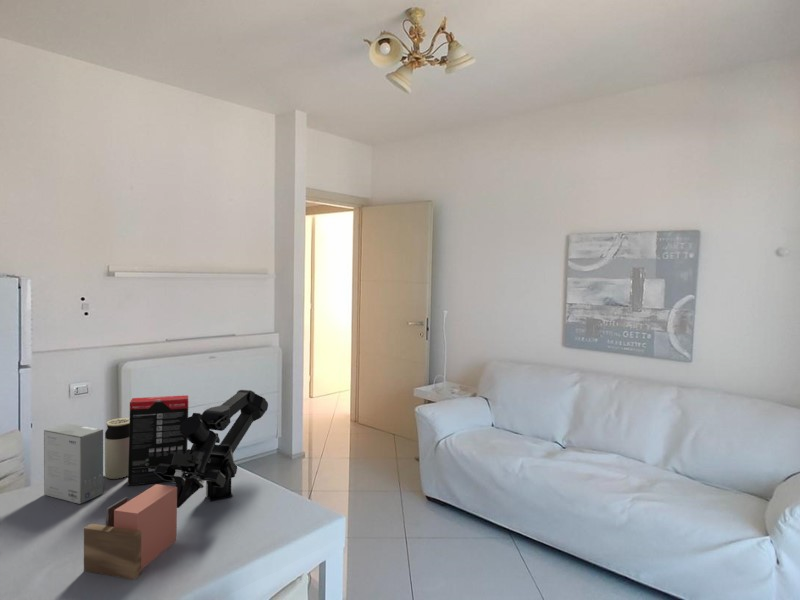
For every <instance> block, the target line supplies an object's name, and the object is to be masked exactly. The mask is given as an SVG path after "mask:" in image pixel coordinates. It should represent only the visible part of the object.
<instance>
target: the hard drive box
mask: <svg viewBox="0 0 800 600" xmlns="http://www.w3.org/2000/svg"><path fill="white" fill-rule="evenodd" d="M43 481H44V482H43V489H44V490H43V493H44V494H43V495H45V496H48V497H52V498H56V499H59V500H63V501H68V502H70V503H75V504H79V505H80V504H83V503H85V502H87V501H89V500H92V499H94V498H96V497H98V496H101V495H103V494H104V429H103V428H102V429H101V428H96V427H91V426H83V425H78V424H71V423H64V424H61V425H57V426H54V427H51V428H47V429H43Z"/></svg>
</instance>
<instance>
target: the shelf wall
mask: <svg viewBox="0 0 800 600" xmlns="http://www.w3.org/2000/svg"><path fill="white" fill-rule="evenodd" d="M83 571H84V572H88V573H94V574H99V575H104V576H105V575H106V576H111V577H112V576H113V577H118V578H124V579H129V580H137V578H139V577H140V575H142V570H141V531H138V530H131V529H124V528H117V527H111V526H106V525H104V524H103V525H102V524H96V523H89V524H88V525H87V526H85V527H83Z"/></svg>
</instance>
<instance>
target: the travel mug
mask: <svg viewBox="0 0 800 600" xmlns="http://www.w3.org/2000/svg"><path fill="white" fill-rule="evenodd" d="M105 425H106V426H107V427H106V430H105V433H104V477H105V478H107V479H109V480H110V479H111V480H118V479H119V478H120V479H123V477H124V478H126V476H127V477H128V464H129V427H130V417H122V418H121V417H120V418H113V419H110V420H107V421H106V422H105Z"/></svg>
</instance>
